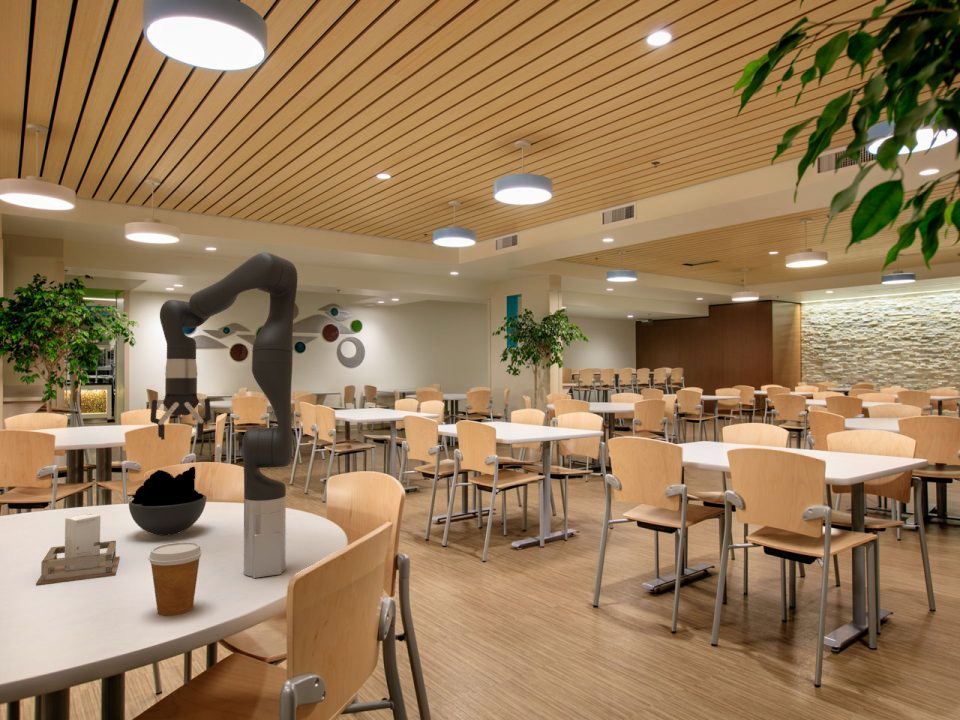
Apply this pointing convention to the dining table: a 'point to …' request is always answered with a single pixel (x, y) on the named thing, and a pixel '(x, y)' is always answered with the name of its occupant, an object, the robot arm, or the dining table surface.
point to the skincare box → (82, 539)
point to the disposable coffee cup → (175, 576)
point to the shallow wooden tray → (53, 561)
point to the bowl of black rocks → (167, 503)
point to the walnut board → (81, 576)
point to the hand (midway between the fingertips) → (180, 438)
